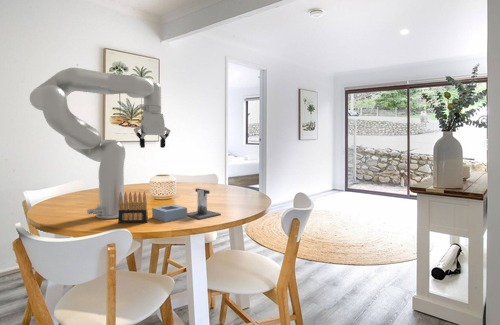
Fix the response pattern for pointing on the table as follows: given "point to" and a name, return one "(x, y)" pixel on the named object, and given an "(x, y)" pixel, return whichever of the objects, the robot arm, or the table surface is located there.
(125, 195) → the ammunition clip
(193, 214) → the rubber mat
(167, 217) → the block
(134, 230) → the table surface
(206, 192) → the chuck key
